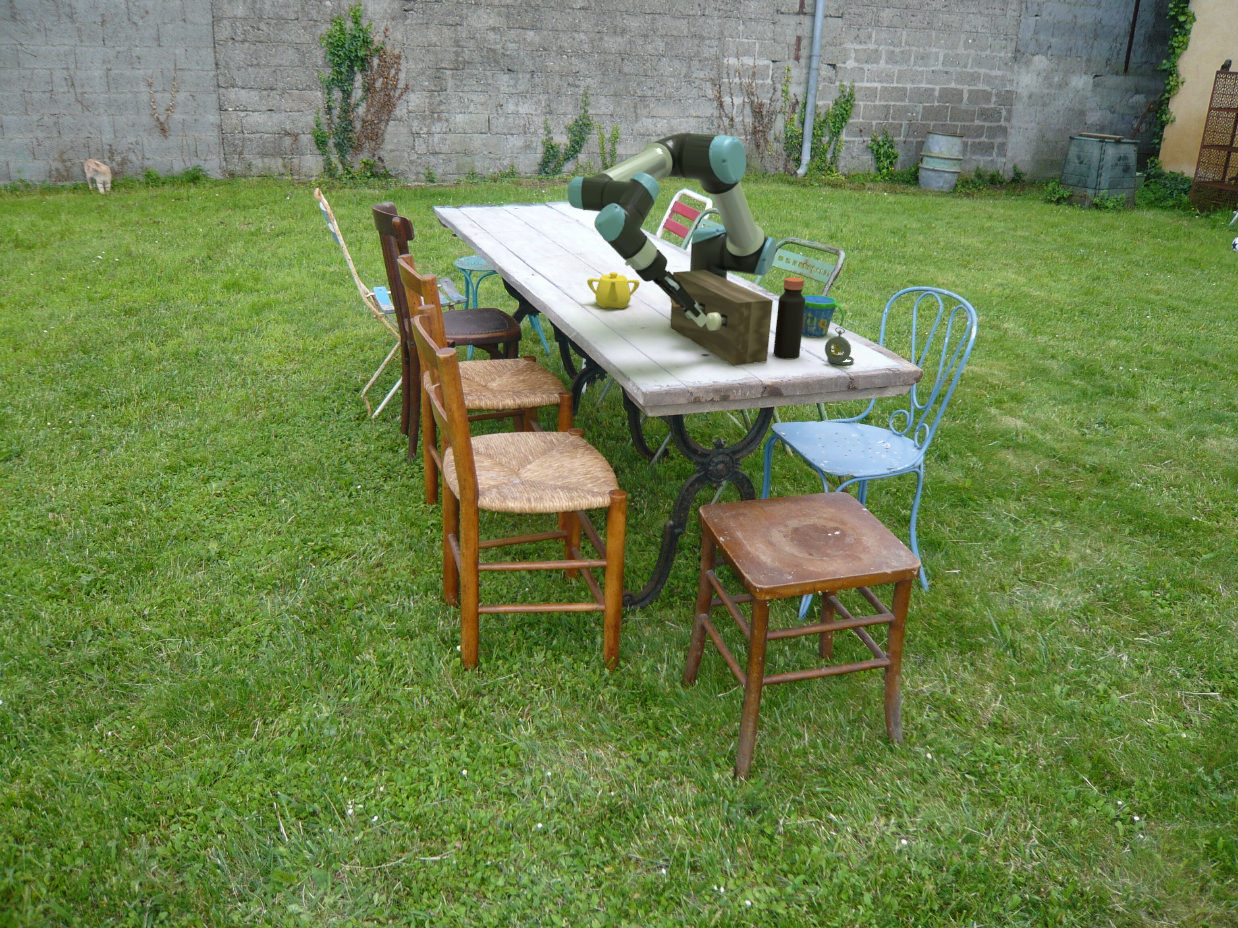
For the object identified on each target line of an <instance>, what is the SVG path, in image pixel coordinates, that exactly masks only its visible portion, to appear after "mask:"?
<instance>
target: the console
mask: <svg viewBox="0 0 1238 928" xmlns="http://www.w3.org/2000/svg"><path fill="white" fill-rule="evenodd" d="M672 275H673V277H674V278H675V279H676V280H678V281H680V283H681V285H682V286H683V288H684V289H685V290H686V291H687V292H688V294H689V295H690V296H691V297H692V299H693V300H694V301H696V302H697V303H698V306H705V312H703V314H704V315H705V316H706V317H707V314H708V313H715V312H717V313H719V314H720V316H721V318H723V317H727V324H721V327H720V329H719V330H712V331H710V330H709V329H708V328H707V325H706V323H705V324H704V325H703V326H702V327H700V326H698V324H697V323H696V322H695V321H694V320H693V319H692V318H690V319H688V318H687V317H686V315H685V312H684V311H683V310H684V308H681V307H673V306H672V304H671V303H670V304H671V306H670V308H671V309H670V326H669V329H671V330H673V331H674V332H676V333H678V334H679V335H681V336H683V338H684V337H685V338H686V339H688V340H689V339H690V341H691V342H693V343H695V344H697V345H698V346H699V347H701V348H702V349H704V350H706V351H708V352H710V353H711V354H713V355H715V356H716V357H717V358H720V359H721V360H722V361H725V362H726V363H728V364H730V365H732V366H738V365H739V366H741V365H747V364H755V363H754V362H758V363H764V362H763V361H767V362H768V354H769V352H768V351H769V343H770V331H771V325H772V324H771V323H772V313H773V302H774V300H773V299H772V298H769V297H767V296H765V295H763V294H760V293H758V292H755V291H754V290H751V289H748V288H747V287H744V286H742V285H741V284H737V283H735V282H733V281H730V280H728V279H727V280H726V279H724V278H722V277H720V276H717V275H715V274H713V273H711V272H708V271H706V270H697V271H690V270H686V271H684V270H683V271H673V272H672Z"/></svg>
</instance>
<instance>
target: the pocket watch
mask: <svg viewBox="0 0 1238 928" xmlns="http://www.w3.org/2000/svg"><path fill="white" fill-rule="evenodd" d="M838 329H841V330H838ZM834 330H835V332H836V333H837V334H838V335H835V336H832V337H830V338H829V339H828V340H827V342H826V343H825V345H824V353H825V355H826V357H827V360H828V361H829V363H833V364H835V363H836V364H835V365H842V364H846V365H850V364H853V363H854V360H855V358H854V357H852V356H851V352H852V346H851V344H850V342H849V340H848V339H846V338H845V337H843V336H842V335H843V334H845V333H846V330H845V328H843V327H840V326H839V327H836V328H834ZM842 330H843V332H842ZM846 359H847V360H851V361H850V362H843V361H845V360H846Z"/></svg>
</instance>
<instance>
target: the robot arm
mask: <svg viewBox="0 0 1238 928" xmlns="http://www.w3.org/2000/svg"><path fill="white" fill-rule="evenodd" d="M746 153H747V152H746V149H745V146H744V144H743V142H742V141H741V140H740V139H739V138H737V137H735V136H732V135H731V136H729V135H727V134H709V133H708V134H706V133H691V132H680V133H675V134H672V135H668V136H665V137H662V138H661V139H658V140H655V141H653V142H651V143H649V144H647V145H646V146H645V147H644V148H643V149H642V151H641V152H640V153H638V154H636V155H633V156H631V157H629V158H628V159H627V158H626V159H625V160H624V161H622V162H620V163H617V164H615V165H614V166H612V167H609V168H607V169H606V170H603V171H601V172H599V173H598V174H596V175H593V176H591V177H588V176H587V177H586V176H575V177H574V178H572V179H571V180H570V181H569V183H568V187H567V192H566V194H567V201H568V202H569V205H570V206H571V207H572V208H575V209H579V210H582V211H592V212H599V213H598V214H597V215H596V216H595V220H594V225H593V226H594V228H595V229H596V231H597V232H598V234H599V235H600V236H601V237H602V238H603V239H602V240H604V241H605V242H606V243H608V244H609V245H610V246H611V248H612V249H613V250H614V251H615V252H616V253H617V254H618V256H620V257H621V258H622V259H623V260H624V261H625V263H624V265H625V266H627V267H630V268H632V269H633V270H634V272H635V273H636V274H637V275H638V276H639V277H640V279H642V281H644V282H647V283H648V282H649V283H650V282H653V283H654V284H655V285H657V286H658V287H659V288H660V289H661V290H662V291H663V292H664V293H665V294H666V295H667V296H668V297H669V298H671V299H672V300H673V301H674V302H675V303H676V304H677V305H678V304H679V305H680V307H681V308H684V310H683V311H684V312H685V313H687V314H688V315H689V316H690V317H691V318H692V319H693V320H694V321H695V322H696V323H697V324H698V326H700V327H702V326H703V325H704V324H705V323H706V322H707V321H708V320H709V319H708V318H707V317H706V316H705V315H704V314H703V312H702V311H701V310H700V309H699V308H698V307H697V306H696V305H695V304H696V302H695V301H694V300H693V299H692V297H691V296H690V295H689V294H688V292H687V291H686V290H685V289H684V288H683V286H682V285H681V283H680V281H678V280H676V279H675V278H674V277H673V272H671V271H669V270H666V269H667V265H668V258H667V257H666V256H665V255H664V254H663V252H662V251H660V249H658V248H657V246H656V245H655V244H654V243H653V241H652V240H651V239H650V238H649V237H648V236H647V235H646V234H645V233H644V231H643V230H642V229H641V227H642V226H643V224H644V222H645V220H646V218H647V217H648V215H649V213H650V212H651V211H652V208H653V206H654V205H655V204H656V201H657V198H658V196H659V193H660V185H659V184H658V181H660V180H661V181H662V180H665V179H666V178H677V179H678V178H679V179H685V180H686V179H688V180H694V181H695V180H696V181H697V180H698V181H699V184H700V185H701V188H702V190H703V191H704V192H705V193H707V194H709V195H711V197H712V198H711V199H712V201H713V203H714V206H715V208H716V211H717V212H718V216H719V218H720V221H721V222H722V225H710V226H709V225H708V226H703V227H698V228H696V229H694V230H693V232H692V235H691V242H690V243H691V244H690V262H689V263H690V265H689V266H690V267H689V268H690V269H689V271H697V270H706V271H708V272H711V273H713V274H715V275H717V276H720V277H722V278H724V279H726V280H728V272H733V273H739V274H745V275H751V276H761V277H762V276H766V275H767V274H768V273H769V272H770V271H771V268H772V266H773V264H774V261H775V257H776V253H777V252H776V251H777V242H776V239H775V238H774V237H771V236H766V235H765V232H764V230H763V228H762V227H761V226H759V224H756V223H755V219H754V217H753V214H752V211H751V209H750V206H749V203H748V201H747V198H746V193H745V192H744V188H743V186H742V183H741V181H742V179H743V177H744V176H745V175H744V174H745V173H746V169H747V160H746V158H747V154H746ZM671 299H670V300H671Z"/></svg>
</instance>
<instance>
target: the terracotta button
mask: <svg viewBox="0 0 1238 928" xmlns="http://www.w3.org/2000/svg"><path fill="white" fill-rule="evenodd" d="M669 298H670V297H669ZM670 304H672V306H673V307H680V305H679V304H678V305H677V304H676V303H675V302H674V301H673V300H672V299H671V298H670Z"/></svg>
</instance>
